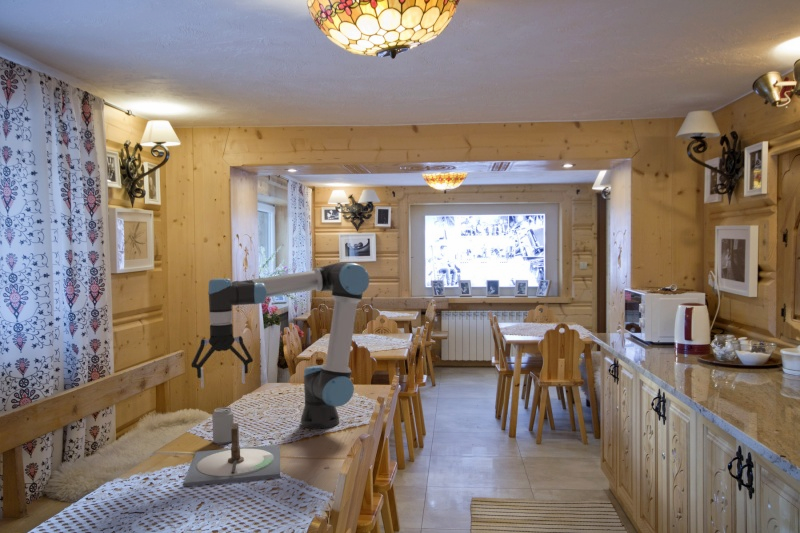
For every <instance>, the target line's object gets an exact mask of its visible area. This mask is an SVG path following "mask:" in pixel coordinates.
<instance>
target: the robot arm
mask: <svg viewBox="0 0 800 533" xmlns="http://www.w3.org/2000/svg"><path fill="white" fill-rule="evenodd" d="M369 284H370V275H369V273H368V270H366V268H365V267H364V266H362V264H359V263H354V262H336V263H332V264H328V265H324V266H319V267H314V268H313V269H312V270H310V271H302V272H295V273H287V274H281V275H276V276H275V275H274V276H268V277H267V276H266V277H260V278H255V279H247V280H235V281H232V279H230V278H211V279H210V280H209V281H208V291H207V294H208V305H209V307H208V308H209V313H208V314H209V324H210V325H209V338H208V339H207V338H206V339H204V338H200V343H199V347H198V349H197V351H196V353H195V355H194V357H193V359H192V362H191V364H190V365H191V368H195V369H196V376H197V379H200V388H201V389H204V388H205V387H204V386H205V383H204V381H205V380H204V367H203V366H204V365H205V364H206V362H207V361H208V360H209V358H210V357H211V356H212V354H213V353H214V352H215V351H216V352H225V351H226V352H227V351H228V350H230V351H231V352H232V353H233V354H234V355H235V356H236V357H237V358H238V359H239V360H240V361H241V362H242V363H241V383H242V384H245V385H246V374H248V373H249V366H248V365H249V364H250V363H253V362H254V359H253V357H252V356H251V355H250V352H249V349H248V348H247V347H246V345H245V344H244V339H243V337H242V335H238V336H235V337H234V328H233V325H234V324H233V306H243V305H258V304H259V305H261V304H264V303H265V302H266V301H267V298H270V297H271V298H272V297H276V296H277V297H279V296H284V295H290V294H298V293H302V292H303V293H304V292H309V291H316V292H331V297H332V299H333V300H334V305H333V310H332V316H331V317H332V318H331V325H330V332H329V340H328V346H327V351H326V352H327V353H326V361H325V363H324V364H322V365H319V364H318V365H313V366H307V367H305V368H304V370H303V383H304V384H303V385H304V387H303V388H304V407H303V411H302V414H301V418H300V425H301V427H304V428H307V429H317V430H318V429H326V428H331V427H334V426H336V425H338V424H339V423H340V417H339V413H338V409H337V407H342V406H344V405H346V404H347V403H349V402H350V400H351V399H352V398H353V395H354V391H355V386H354V383H353V382H352V380H351V378H352V370H351V368H350V367H349V362H350V355H351V350H352V349H351V348H352V342H353V334H354V327H355V321H356V316H357V315H356V313H357V308H358V307H357V305H358V304H359V303H360V302H361V301H362V299H363V295H364V294H363V293H365V291H366V290H367V289H368V287H369ZM234 342H236V343H237V344H239V347H241V349H242V351H243V352H244V354H245V356H246V358H247V359H246V358H244V357H243V355H242V354H241V353H240V352H239V351H238V350H237V349H236V348H235V347H234V346H233V344H234ZM208 344H210V346H211V347H210V348H209V349H208V351H207V352H206V353H205V354H204V356H202V358H201V359H200V356H201V355H202V353H203V350H204V348H205V346H207V345H208ZM199 360H200V361H199Z"/></svg>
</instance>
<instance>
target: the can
mask: <svg viewBox="0 0 800 533" xmlns="http://www.w3.org/2000/svg"><path fill="white" fill-rule="evenodd" d="M211 414H212V415H211V417H212V418H211V419H212V421H211V422H212V423H211V424H212V441H213V442H214V443H215V444H217V445H227V444H230V443H232V437H231V428H232V424H233V423H235V420H234V416H235V415H234V411H233V409H232V408H231V407H229V406H228V407H226V406H225V407H217V408H215V409H214V410H213V413H211Z"/></svg>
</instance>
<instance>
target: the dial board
mask: <svg viewBox="0 0 800 533" xmlns="http://www.w3.org/2000/svg"><path fill="white" fill-rule="evenodd" d="M280 448H281V446H280V444H271V445H261V446H260V445H259V446H247V447H240V456H241V457H243V458H244V461H243V462H241V463H236V469H235V473H234V474H232V467H233V464H231V463H228V459H229V458H231V448H225V449H224V448H223V449H213V450H200V451H196V452H195V454H194V457H193V459H192V461H191V464H190V467H189V469H188V471H187V475H186V477H185V480H184V482H183V485H184V486H183V487H184V488H186V487H185V486H188V487H194V486H193V485H199V486H204V485H203V484H209V485H217V484H216V483H219V484H227V483H228V482H230V483H237V482H247V481H249V482H250V481H258V480H259V481H260V480H269V479H277V478H280V479H281V449H280Z"/></svg>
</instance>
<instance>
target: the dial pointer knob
mask: <svg viewBox="0 0 800 533" xmlns="http://www.w3.org/2000/svg"><path fill="white" fill-rule="evenodd" d="M239 430H240V429H239V423H238V422H236V423H235V422H234V423H233V424H232V428H231V437H232V442H231V448H230V449H231V458H229V459H228V463H231V464H233V467H232V474H234V473H235V469H236V463H241V462H243V461H244V458H243V457H241V456H240V448H241V446H240V435H239V432H240V431H239Z"/></svg>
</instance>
